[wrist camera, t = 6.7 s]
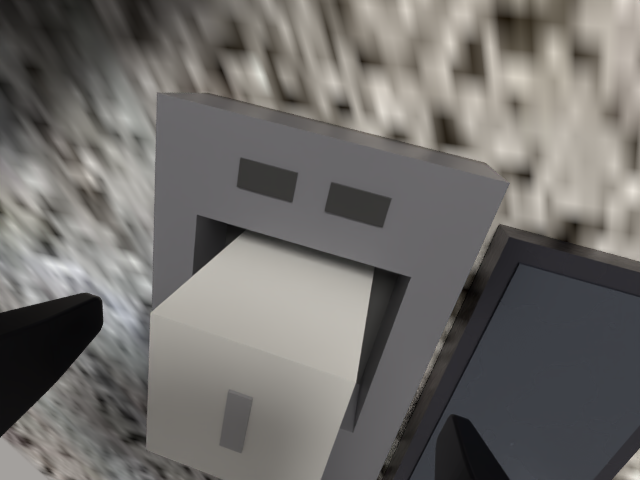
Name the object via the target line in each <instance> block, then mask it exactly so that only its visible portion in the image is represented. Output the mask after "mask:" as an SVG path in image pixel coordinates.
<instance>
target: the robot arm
mask: <svg viewBox="0 0 640 480" xmlns="http://www.w3.org/2000/svg"><path fill="white" fill-rule="evenodd" d="M102 326H103V305H102V300H101V298H100V297H98V296H95V295H92V294H89V293H80V294H76V295H72V296H68V297H64V298H60V299H55V300H51V301H47V302H43V303H39V304H35V305H31V306H27V307H22V308H18V309H14V310H10V311H6V312H2V313H0V437H1V436H2V435H3V434H4V433H5V432H6V431H7V430H8V429H9V428H10V427H11V426H12V425H13V424H14V423H16V422H17V421H18V420H19V419H20V418H21V417H22V416H23V415H24V414H25V413H26V412H27V411H28V410H29V409H30V408H31V407H32V406H33V405H34V404H35V403H36V402H37V401H38V400H39V399H40V398H41V397H42V396H43V395H44V394H45V393H46V392H47V391H48V390H49V389H50V388H51V387H52V386H53V385H54V384H55V383H56V382H57V381H58V380H59V378H60V377H61V376H62V375H63V374H64V373H65V372H66V371H67V369H68V368H69V367H70V366H71V365H72V363H73V362H74V361H75V360H76V359H77V358H78V356H79V355H80V354H81V353H82V352H83V351H84V349H85V348H86V347H87V346H88V345H89V343H90V342H91V341H92V340H93V339H94V338H95V336H96V335H97V334H98V333H99V332H100V330H101V328H102ZM434 480H510V479H509V477H508V476H507V474H506V473H505V471H504V470H503V468H502V467H501V465H500V464H499V462H498V461H497V459H496V458H495V456H494V455H493V453H492V452H491V450H490V449H489V447H488V446H487V445H486V443H485V442H484V440H483V439H482V437H481V436H480V434H479V433H478V431H477V430H476V428H475V427H474V425H473V424H472V422H471V421H470V420H469V419H467V418H464V417H461V416H458V415H455V414H451V415H449V417H448V418H447V420H446V422H445V424H444V426H443V428H442V430H441V431H440V433H439V435H438V438H437V441H436V450H435V479H434Z"/></svg>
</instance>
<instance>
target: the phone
mask: <svg viewBox="0 0 640 480" xmlns="http://www.w3.org/2000/svg"><path fill="white" fill-rule="evenodd" d="M451 414H455V415H458V416H461V417H464V418H467V419H469V420H470V421H471V422H472V424H473V425H474V427H475V428H476V430H477V431H478V433H479V434H480V436H481V437H482V439H483V440H484V442H485V443H486V445H487V446H488V447H489V449H490V450H491V452H492V453H493V455H494V456H495V458H496V459H497V461H498V462H499V464H500V465H501V467H502V468H503V470H504V471H505V473H506V474H507V476H508V477H509V479H510V480H612V479H613V478H614V476H615V475H616V474H617V473H618V472H619V471H620V470H621V469H622V467H623V466H624V465H625V464H626V463H627V462H628V461H629V460H630V458H631V457H632V456H633V455H634V454H635V453H636V452H637V451H638V449H639V448H640V262H639V261H635V260H631V259H628V258H624V257H620V256H617V255H613V254H609V253H605V252H602V251H598V250H594V249H591V248H587V247H583V246H579V245H576V244H572V243H568V242H565V241H561V240H557V239H553V238H550V237H546V236H542V235H539V234H535V233H531V232H527V231H524V230H520V229H516V228H513V227H509V226H505V225H501V224H499V227H498V229H497V231H496V233H495V235H494V238H493V240H492V242H491V244H490V246H489V248H488V251H487V253H486V255H485V257H484V259H483V261H482V264H481V266H480V268H479V270H478V272H477V275H476V277H475V279H474V281H473V283H472V285H471V288H470V290H469V292H468V294H467V296H466V298H465V301H464V303H463V305H462V307H461V309H460V312H459V314H458V316H457V318H456V320H455V322H454V325H453V327H452V329H451V331H450V333H449V335H448V338H447V340H446V342H445V344H444V346H443V348H442V351H441V353H440V355H439V357H438V359H437V362H436V364H435V366H434V368H433V370H432V372H431V375H430V377H429V379H428V381H427V383H426V385H425V388H424V390H423V392H422V394H421V396H420V399H419V401H418V403H417V405H416V407H415V409H414V412H413V414H412V416H411V418H410V420H409V422H408V425H407V427H406V429H405V431H404V433H403V436H402V438H401V440H400V442H399V444H398V446H397V449H396V451H395V453H394V455H393V457H392V459H391V462H390V464H389V466H388V468H387V470H386V473H385V475H384V477H383V479H382V480H434V479H435V450H436V441H437V438H438V435H439V433H440V431H441V430H442V428H443V426H444V424H445V422H446V420H447V418H448V417H449V415H451Z"/></svg>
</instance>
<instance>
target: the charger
mask: <svg viewBox="0 0 640 480" xmlns="http://www.w3.org/2000/svg"><path fill="white" fill-rule="evenodd" d="M373 274H374V266H371V265H368V264H364V263H361V262H357V261H354V260H351V259H347V258H344V257H340V256H337V255H333V254H330V253H327V252H323V251H320V250H316V249H313V248H310V247H306V246H303V245H299V244H296V243H292V242H289V241H286V240H282V239H279V238H275V237H272V236H269V235H265V234H262V233H258V232H255V231H251V230H248V229H246V230H245V231H244V232H243V233H242V234H241V235H240V236H238V237H237V238H236V239H235V240H234V241H233V242H231V243H230V244H229V245H228V246H227V247H226V248H225V249H223V250H222V251H221V252H220V253H219V254H218V255H216V256H215V257H214V258H213V259H212V260H211V261H210V262H208V263H207V264H206V265H205V266H204V267H203V268H201V269H200V270H199V271H198V272H197V273H196V274H195V275H193V276H192V277H191V278H190V279H189V280H188V281H187V282H185V283H184V284H183V285H182V286H181V287H180V288H178V289H177V290H176V291H175V292H174V293H173V294H172V295H170V296H169V297H168V298H167V299H166V300H165V301H163V302H162V303H161V304H160V305H159V306H158V307H157V308H155V309H154V310H153V311H152V312H151V313H150V341H149V371H148V402H147V432H146V450H147V451H149V452H152V453H154V454H157V455H160V456H162V457H165V458H167V459H170V460H173V461H175V462H178V463H181V464H183V465H186V466H188V467H191V468H194V469H196V470H199V471H201V472H204V473H207V474H209V475H212V476H214V477H217V478H220V479H222V480H321V478H322V475H323V472H324V469H325V467H326V464H327V461H328V458H329V456H330V453H331V450H332V447H333V445H334V442H335V439H336V436H337V434H338V431H339V428H340V425H341V423H342V420H343V417H344V414H345V411H346V409H347V406H348V403H349V400H350V398H351V395H352V392H353V389H354V387H355V384H356V380H357V373H358V367H359V361H360V355H361V348H362V342H363V336H364V330H365V324H366V317H367V311H368V305H369V299H370V292H371V286H372V280H373Z"/></svg>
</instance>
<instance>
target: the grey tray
mask: <svg viewBox="0 0 640 480" xmlns="http://www.w3.org/2000/svg"><path fill="white" fill-rule="evenodd" d="M509 184H510V183H509V182H508V181H507V180H505V179H504V178H503V177H502V176H501V175H499V174H498V173H497V172H496V171H495V170H493V169H492V168H491V167H490V166H489V165H487V164H486V163H484V162H480V161H476V160H472V159H468V158H464V157H460V156H456V155H452V154H448V153H444V152H440V151H436V150H432V149H428V148H424V147H421V146H417V145H413V144H409V143H405V142H401V141H397V140H393V139H389V138H385V137H381V136H377V135H373V134H369V133H365V132H361V131H357V130H353V129H349V128H345V127H341V126H337V125H333V124H329V123H325V122H321V121H317V120H313V119H310V118H306V117H302V116H298V115H294V114H290V113H286V112H282V111H278V110H274V109H270V108H266V107H262V106H258V105H254V104H250V103H246V102H242V101H238V100H234V99H230V98H226V97H222V96H218V95H214V94H210V93H157V119H156V162H155V204H154V247H153V289H152V311H153V310H154V309H155V308H157V307H158V306H159V305H160V304H161V303H162V302H163V301H165V300H166V299H167V298H168V297H169V296H170V295H172V294H173V293H174V292H175V291H176V290H177V289H178V288H180V287H181V286H182V285H183V284H184V283H185V282H187V281H188V280H189V279H190V278H191V277H192V276H193V275H195V274H196V273H197V272H198V271H199V270H200V269H201V268H203V267H204V266H205V265H206V264H207V263H208V262H210V261H211V260H212V259H213V258H214V257H215V256H216V255H218V254H219V253H220V252H221V251H222V250H223V249H225V248H226V247H227V246H228V245H229V244H230V243H231V242H233V241H234V240H235V239H236V238H237V237H238V236H240V235H241V234H242V233H243V232H244V231H245V230H246V229H248V230H251V231H255V232H258V233H262V234H265V235H269V236H272V237H275V238H279V239H282V240H286V241H289V242H292V243H296V244H299V245H303V246H306V247H310V248H313V249H316V250H320V251H323V252H327V253H330V254H333V255H337V256H340V257H344V258H347V259H351V260H354V261H357V262H361V263H364V264H368V265H371V266H374V274H373V280H372V286H371V292H370V299H369V305H368V311H367V317H366V324H365V330H364V336H363V342H362V348H361V355H360V361H359V367H358V373H357V380H356V384H355V387H354V389H353V392H352V395H351V398H350V400H349V403H348V406H347V409H346V411H345V414H344V417H343V420H342V423H341V425H340V428H339V431H338V434H337V436H336V439H335V442H334V445H333V447H332V450H331V453H330V456H329V458H328V461H327V464H326V467H325V469H324V472H323V475H322V478H321V480H377V478H378V475H379V473H380V471H381V469H382V466H383V464H384V462H385V460H386V458H387V455H388V453H389V451H390V449H391V446H392V444H393V442H394V440H395V437H396V435H397V433H398V431H399V429H400V426H401V424H402V422H403V420H404V417H405V415H406V413H407V411H408V409H409V406H410V404H411V402H412V400H413V397H414V395H415V393H416V391H417V388H418V386H419V384H420V382H421V380H422V377H423V375H424V373H425V371H426V368H427V366H428V364H429V362H430V360H431V357H432V355H433V353H434V351H435V348H436V346H437V344H438V342H439V339H440V337H441V335H442V333H443V331H444V328H445V326H446V324H447V322H448V319H449V317H450V315H451V313H452V311H453V308H454V306H455V304H456V302H457V299H458V297H459V295H460V293H461V291H462V288H463V286H464V284H465V282H466V279H467V277H468V275H469V273H470V270H471V268H472V266H473V264H474V262H475V259H476V257H477V255H478V253H479V250H480V248H481V246H482V244H483V242H484V239H485V237H486V235H487V233H488V230H489V228H490V226H491V224H492V221H493V219H494V217H495V215H496V213H497V210H498V208H499V206H500V204H501V201H502V199H503V197H504V195H505V193H506V190H507V188H508V186H509Z"/></svg>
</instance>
